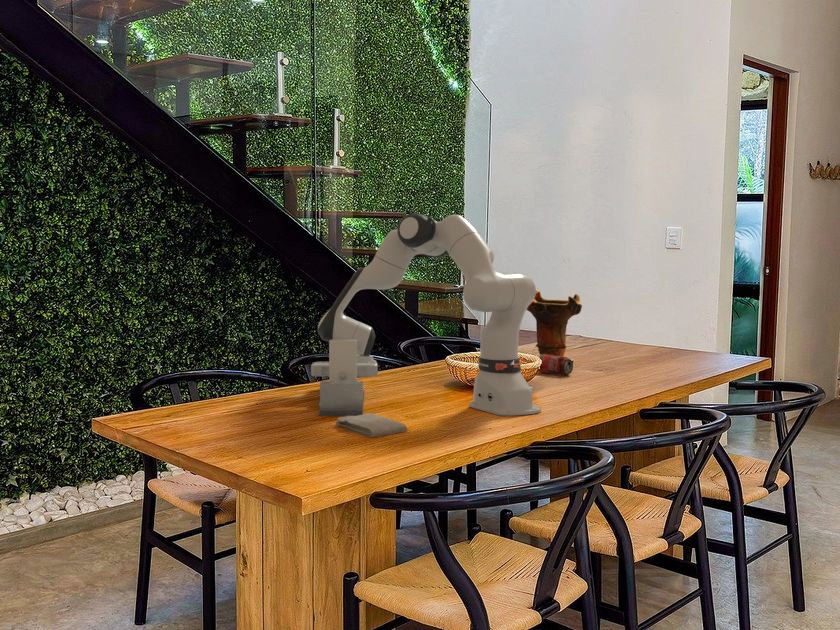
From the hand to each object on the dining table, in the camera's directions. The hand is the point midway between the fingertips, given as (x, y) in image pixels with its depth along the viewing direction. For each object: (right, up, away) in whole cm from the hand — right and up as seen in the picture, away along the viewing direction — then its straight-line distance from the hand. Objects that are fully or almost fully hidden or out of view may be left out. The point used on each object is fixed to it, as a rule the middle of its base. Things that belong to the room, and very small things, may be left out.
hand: (343, 373), depth 264 cm
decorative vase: (+74, -1, +87) cm, 115 cm away
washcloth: (+10, -13, -31) cm, 35 cm away
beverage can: (+72, -4, +56) cm, 91 cm away
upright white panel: (-1, -7, -1) cm, 7 cm away
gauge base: (0, -9, -2) cm, 9 cm away
